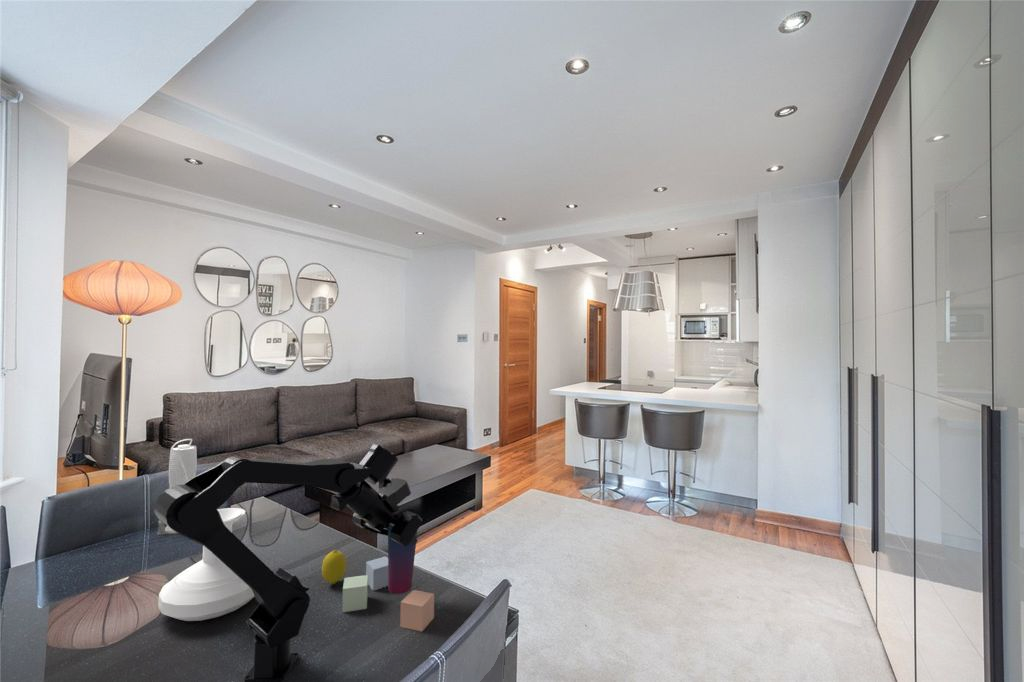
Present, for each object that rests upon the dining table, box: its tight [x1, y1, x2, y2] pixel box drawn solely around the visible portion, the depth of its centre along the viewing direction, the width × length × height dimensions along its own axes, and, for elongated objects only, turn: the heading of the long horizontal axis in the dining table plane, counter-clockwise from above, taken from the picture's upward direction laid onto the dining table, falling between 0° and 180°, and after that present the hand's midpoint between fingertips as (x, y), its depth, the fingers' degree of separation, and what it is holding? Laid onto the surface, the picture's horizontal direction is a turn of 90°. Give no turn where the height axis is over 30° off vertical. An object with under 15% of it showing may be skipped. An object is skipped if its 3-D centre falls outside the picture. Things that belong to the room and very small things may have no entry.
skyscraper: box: [156, 438, 198, 536], centre depth 139 cm, size 8×8×28 cm
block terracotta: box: [399, 589, 435, 633], centre depth 90 cm, size 5×5×5 cm
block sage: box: [341, 574, 369, 613], centre depth 96 cm, size 5×5×5 cm
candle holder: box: [157, 507, 255, 622], centre depth 97 cm, size 20×20×19 cm
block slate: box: [365, 555, 388, 592], centre depth 106 cm, size 5×5×5 cm
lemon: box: [321, 549, 347, 585], centre depth 105 cm, size 6×6×8 cm
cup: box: [387, 514, 418, 595], centre depth 98 cm, size 7×7×15 cm
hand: (407, 539), depth 99 cm, fingers closed on cup, 6 cm apart
